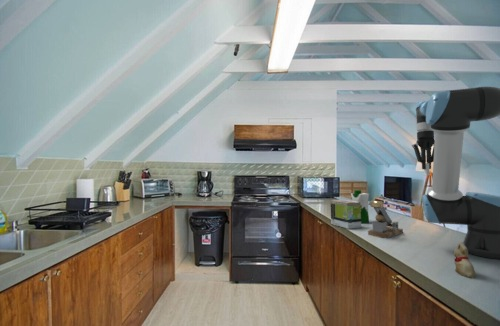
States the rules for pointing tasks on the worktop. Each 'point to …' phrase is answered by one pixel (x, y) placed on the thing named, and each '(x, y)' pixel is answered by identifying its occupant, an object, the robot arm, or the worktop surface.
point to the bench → (388, 231)
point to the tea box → (346, 213)
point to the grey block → (380, 226)
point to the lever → (381, 211)
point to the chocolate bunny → (463, 261)
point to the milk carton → (362, 204)
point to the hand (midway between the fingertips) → (426, 175)
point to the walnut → (379, 217)
